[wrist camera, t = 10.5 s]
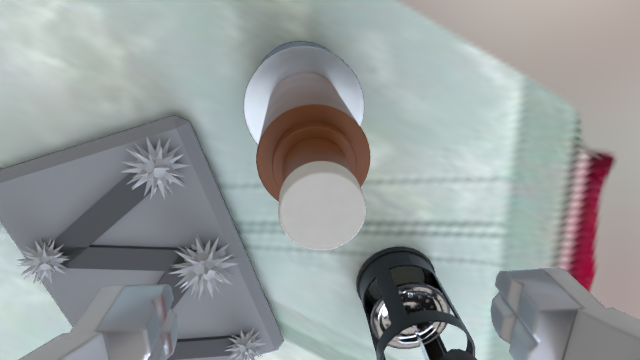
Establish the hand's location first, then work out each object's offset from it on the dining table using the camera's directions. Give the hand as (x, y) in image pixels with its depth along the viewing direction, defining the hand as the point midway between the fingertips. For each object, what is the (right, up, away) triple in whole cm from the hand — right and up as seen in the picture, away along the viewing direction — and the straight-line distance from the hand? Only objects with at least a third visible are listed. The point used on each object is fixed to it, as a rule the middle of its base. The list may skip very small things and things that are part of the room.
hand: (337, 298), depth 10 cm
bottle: (-2, +8, +21) cm, 23 cm away
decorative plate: (-19, -6, +35) cm, 41 cm away
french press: (+9, -9, +39) cm, 41 cm away
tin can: (-2, +12, +29) cm, 32 cm away
